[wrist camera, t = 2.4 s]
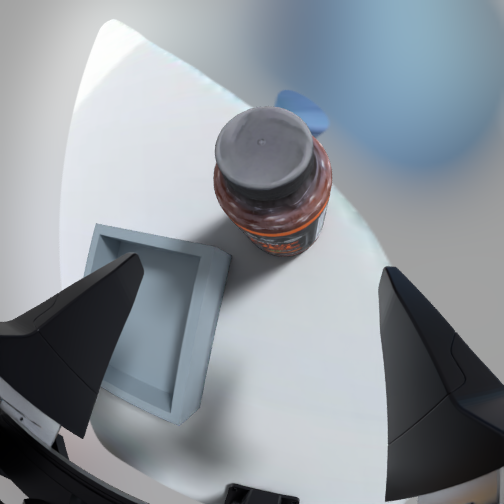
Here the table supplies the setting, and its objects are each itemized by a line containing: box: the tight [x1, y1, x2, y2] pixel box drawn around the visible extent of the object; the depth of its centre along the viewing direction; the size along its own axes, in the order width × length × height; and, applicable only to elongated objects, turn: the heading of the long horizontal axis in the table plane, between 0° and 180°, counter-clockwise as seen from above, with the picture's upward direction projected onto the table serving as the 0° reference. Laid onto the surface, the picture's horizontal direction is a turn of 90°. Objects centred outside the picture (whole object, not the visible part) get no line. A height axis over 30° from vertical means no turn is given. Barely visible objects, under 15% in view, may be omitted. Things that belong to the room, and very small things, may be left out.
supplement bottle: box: [213, 106, 332, 256], centre depth 16 cm, size 6×6×11 cm
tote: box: [83, 223, 232, 426], centre depth 20 cm, size 13×11×4 cm
